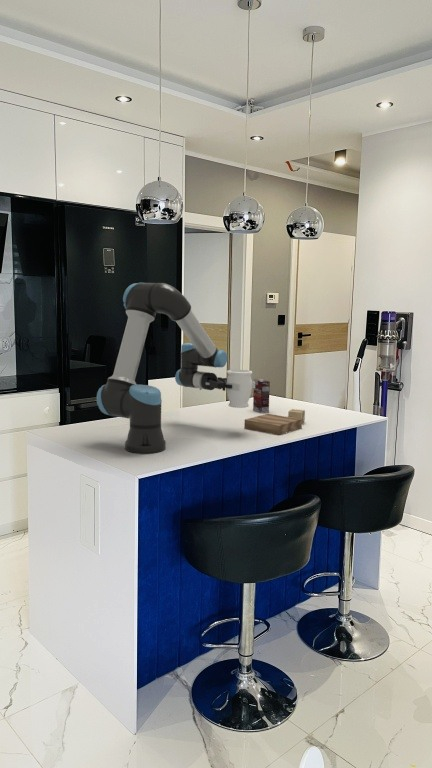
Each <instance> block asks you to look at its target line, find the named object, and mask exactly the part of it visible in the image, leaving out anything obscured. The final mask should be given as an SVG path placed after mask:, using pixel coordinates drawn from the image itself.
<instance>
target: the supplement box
mask: <svg viewBox="0 0 432 768" xmlns="http://www.w3.org/2000/svg"><path fill="white" fill-rule="evenodd" d="M253 382H255V388H253V397H252V398H253V404H252V410H253V411H255V412H257V413H260V414H270V413H269V412H270V387H271V386H270V385H271V384H270V383H271V381H269V380H266V379H263V378H255V379H253Z"/></svg>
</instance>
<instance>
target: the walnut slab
mask: <svg viewBox="0 0 432 768" xmlns="http://www.w3.org/2000/svg"><path fill="white" fill-rule="evenodd" d="M302 426H303V424H302V419H297V418H291V417H288V416H284V415H278V414H271V413H264V414H261V415H257V416H254V417H249V418H245V419H244V426H243V427H244V429H246V430H250V431H255V432H256V431H257V432H260V433H261V432H262V433H265V434H271V433H272V434H271V435H276V434H277V435H278V436H280V435H283V434H287V433H290V432H289V431H291V432H293V430H294V431H297V430H300V429H302V428H303V427H302ZM296 429H297V430H296ZM286 432H287V433H286Z"/></svg>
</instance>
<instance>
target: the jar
mask: <svg viewBox="0 0 432 768" xmlns="http://www.w3.org/2000/svg"><path fill="white" fill-rule="evenodd" d="M226 373H227V377H226V378H227V382H228V383H235V384H240V391H236V390H229V389H226V392H227V393H226V394H227V399H228V407H231V408H237V409H244V408H248V407H250V406H249V401H250V399H251V395H252V389H253V388H252V378H253V377H252V375H253V371H252V370H248V369H229V370H226Z"/></svg>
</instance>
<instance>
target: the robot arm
mask: <svg viewBox="0 0 432 768" xmlns="http://www.w3.org/2000/svg"><path fill="white" fill-rule="evenodd" d="M122 301H123V307H124V309H125V314H126V316H127V322H126V325H125V329H124V333H123V336H122V339H121V344H120V347H119V352H118V355H117V358H116V362H115V366H114V370H113V374H112V375H111V376H109V377H108V378H107V381H106V384H103V385H101V387H99V388H98V391H97V392H96V404H97V407H98V409H99V410H100V412H101V413H103V414H104V415H108V416H111V417H118V418H124V419H129V430H128V433H127V437H126V440H125V441H124V449H125V451H127V452H130V453H133V454H135V453H136V454H153V453H159V452H163V451H165V450H166V448H167V447H166V445H167V444H166V440H165V437H164V434H163V429H162V402H163V401H162V392H161V390H160V389H159V388H158V387H155V386H152V385H148V384H137V382H136V377H137V373H138V370H139V369H138V368H139V366H140V362H141V357H142V353H143V350H144V346H145V342H146V338H147V334H148V330H149V327H150V323H153V321H155V318H156V315H157V314H163V315H166V316H167V317H168V318H169V319H170V320H171V321H174V322H176V323H177V325H178V327H179V328H180V329H181V331H182V333H183V334H184V335H185V336H186V337H187V339H188V340H189V342H186V343H182V344H181V348H180V369H178V370H177V371H176V373H175V375H174V380H175V383H176V384H177V385H178V386H181V387H185V388H193V389H199V391H201V390H206V391H213V390H215V389H217V390H222V391H224V392H225V391H226V390H227V389H229V390H236V391H240V384H235V383H228V382H227V377H218V376H217V374H216V373H214V372H207V371H200V370H198V368H199V366H200V367H209V368H224V367H225V366H226V365H227V362H228V354H227V352H226V351H225V350H223V349H218V348H217V346H216V345H215V343H214V342H213V340H212V339H211V337H210V336H209V334H208V333H207V332H206V329H205V328H204V327H203V325H202V324H201V322H200V321H199V320H198V319H197V317H196V315H195V314H194V313H193V310H192V305H191V303H190V302H189V300H188V299H187V298H186V297H185V295H183V293H181V291H179V290H178V289H177V288H175V287H174V286H172V285H170V284H168V283H165V282H142V281H141V282H138V283H136V282H135V283H132V284H130V285H129V286H128V287H127V288H126V289H125V291H124V293H123V297H122ZM254 388H255V382H254V380H253V381H252V389H254Z"/></svg>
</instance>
